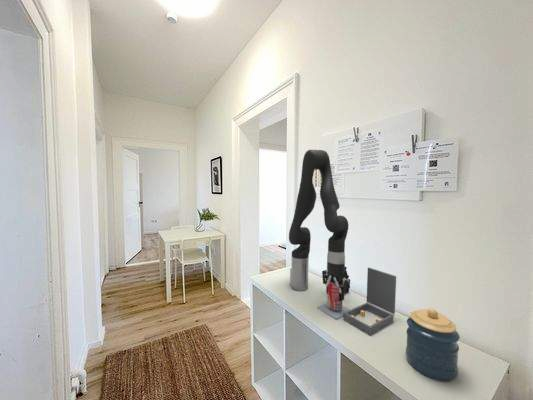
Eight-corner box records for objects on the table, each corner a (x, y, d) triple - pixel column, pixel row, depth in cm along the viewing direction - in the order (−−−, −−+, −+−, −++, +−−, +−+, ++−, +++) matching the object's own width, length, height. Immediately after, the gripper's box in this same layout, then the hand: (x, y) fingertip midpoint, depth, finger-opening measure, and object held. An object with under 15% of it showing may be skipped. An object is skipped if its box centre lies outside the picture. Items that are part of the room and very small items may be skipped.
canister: (434, 349, 76) (436, 298, 75) (470, 382, 63) (473, 321, 62) (396, 350, 75) (398, 299, 75) (425, 383, 63) (427, 321, 62)
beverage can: (331, 303, 105) (332, 277, 104) (344, 308, 100) (345, 281, 100) (324, 307, 100) (325, 281, 100) (337, 313, 96) (338, 286, 95)
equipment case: (343, 319, 93) (344, 274, 92) (367, 308, 102) (369, 267, 101) (370, 335, 83) (371, 285, 82) (394, 321, 92) (396, 276, 91)
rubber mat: (316, 307, 102) (316, 306, 102) (333, 301, 108) (333, 300, 108) (336, 319, 93) (336, 318, 93) (353, 312, 99) (353, 311, 99)
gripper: (318, 257, 103) (317, 293, 104) (343, 267, 91) (342, 307, 92) (329, 255, 107) (328, 289, 108) (355, 263, 95) (354, 302, 96)
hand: (334, 297), depth 100 cm, fingers closed on beverage can, 6 cm apart
